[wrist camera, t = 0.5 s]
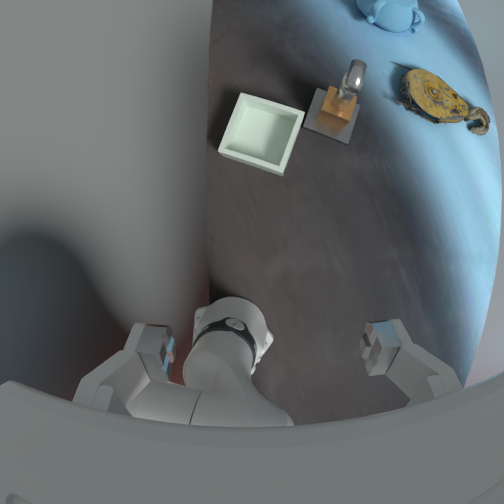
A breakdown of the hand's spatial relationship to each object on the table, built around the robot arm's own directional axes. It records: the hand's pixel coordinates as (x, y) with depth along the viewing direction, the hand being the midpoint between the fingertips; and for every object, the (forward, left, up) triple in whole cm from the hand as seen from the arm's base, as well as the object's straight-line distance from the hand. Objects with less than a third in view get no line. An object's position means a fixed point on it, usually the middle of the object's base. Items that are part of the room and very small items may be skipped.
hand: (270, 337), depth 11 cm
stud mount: (+27, -3, -48) cm, 55 cm away
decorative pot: (+65, -8, -48) cm, 81 cm away
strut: (+27, -3, -47) cm, 54 cm away
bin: (+17, +9, -48) cm, 52 cm away
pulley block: (+44, -29, -48) cm, 72 cm away
